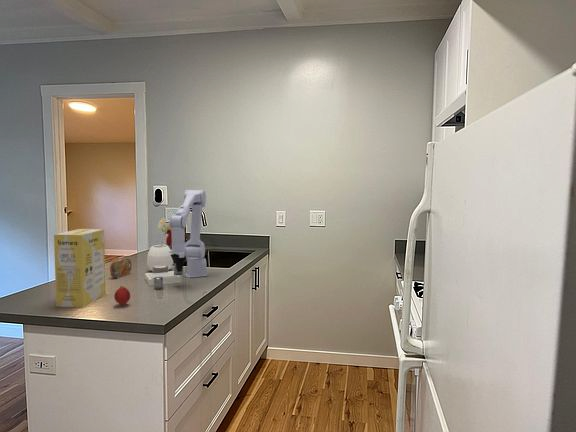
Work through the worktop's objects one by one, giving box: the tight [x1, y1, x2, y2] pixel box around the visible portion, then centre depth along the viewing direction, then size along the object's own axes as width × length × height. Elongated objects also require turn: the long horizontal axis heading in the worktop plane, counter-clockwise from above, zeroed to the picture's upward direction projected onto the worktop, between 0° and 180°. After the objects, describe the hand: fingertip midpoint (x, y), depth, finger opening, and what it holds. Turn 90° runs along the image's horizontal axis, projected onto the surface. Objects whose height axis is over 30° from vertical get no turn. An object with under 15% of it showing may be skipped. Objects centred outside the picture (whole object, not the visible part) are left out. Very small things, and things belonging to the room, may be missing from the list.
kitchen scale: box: [144, 265, 181, 287], centre depth 201 cm, size 14×15×6 cm
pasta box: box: [53, 228, 107, 308], centre depth 167 cm, size 18×10×28 cm, turn 178°
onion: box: [113, 285, 131, 307], centre depth 162 cm, size 6×6×8 cm
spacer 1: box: [153, 277, 164, 291], centre depth 188 cm, size 4×4×5 cm
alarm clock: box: [165, 224, 188, 249], centre depth 297 cm, size 15×9×20 cm, turn 130°
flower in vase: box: [157, 217, 174, 254], centre depth 264 cm, size 13×11×25 cm
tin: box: [109, 258, 132, 279], centre depth 210 cm, size 15×3×8 cm, turn 168°
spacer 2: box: [173, 263, 184, 276], centre depth 191 cm, size 4×4×5 cm
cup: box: [146, 244, 174, 272], centre depth 223 cm, size 13×13×14 cm
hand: (178, 270), depth 192 cm, fingers closed on spacer 2, 4 cm apart
